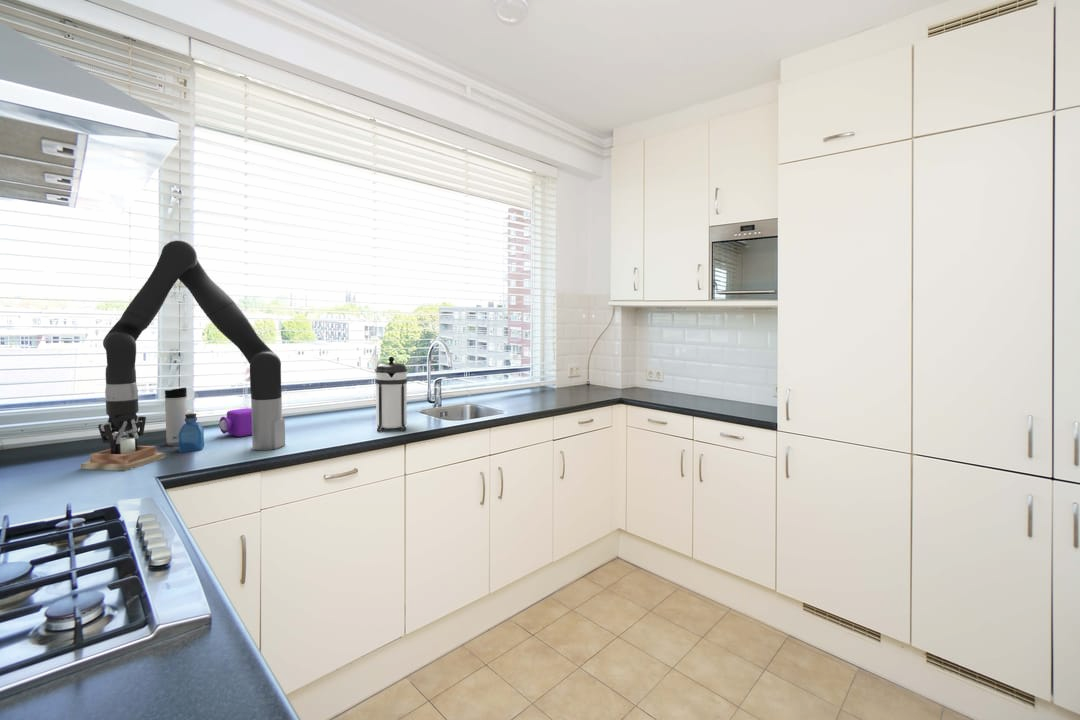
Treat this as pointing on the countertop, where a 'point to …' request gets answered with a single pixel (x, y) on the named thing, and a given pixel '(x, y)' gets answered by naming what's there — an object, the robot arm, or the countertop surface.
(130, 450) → the white cube
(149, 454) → the socket stand
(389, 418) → the coffee press
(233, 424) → the toy camera
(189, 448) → the perfume bottle
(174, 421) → the travel mug
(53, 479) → the countertop surface
